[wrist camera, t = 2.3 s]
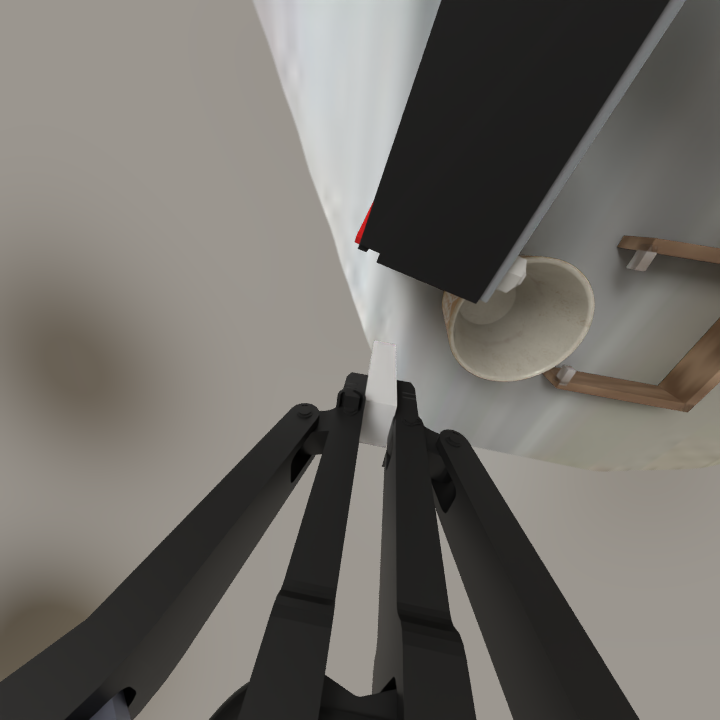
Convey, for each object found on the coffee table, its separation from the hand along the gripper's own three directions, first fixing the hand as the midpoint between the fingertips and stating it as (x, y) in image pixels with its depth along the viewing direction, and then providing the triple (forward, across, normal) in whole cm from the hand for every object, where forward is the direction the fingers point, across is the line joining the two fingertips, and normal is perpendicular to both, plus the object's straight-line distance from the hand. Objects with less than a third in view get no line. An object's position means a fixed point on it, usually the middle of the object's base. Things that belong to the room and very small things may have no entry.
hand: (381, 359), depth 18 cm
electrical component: (+19, +4, +14) cm, 24 cm away
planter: (+19, +13, +1) cm, 23 cm away
